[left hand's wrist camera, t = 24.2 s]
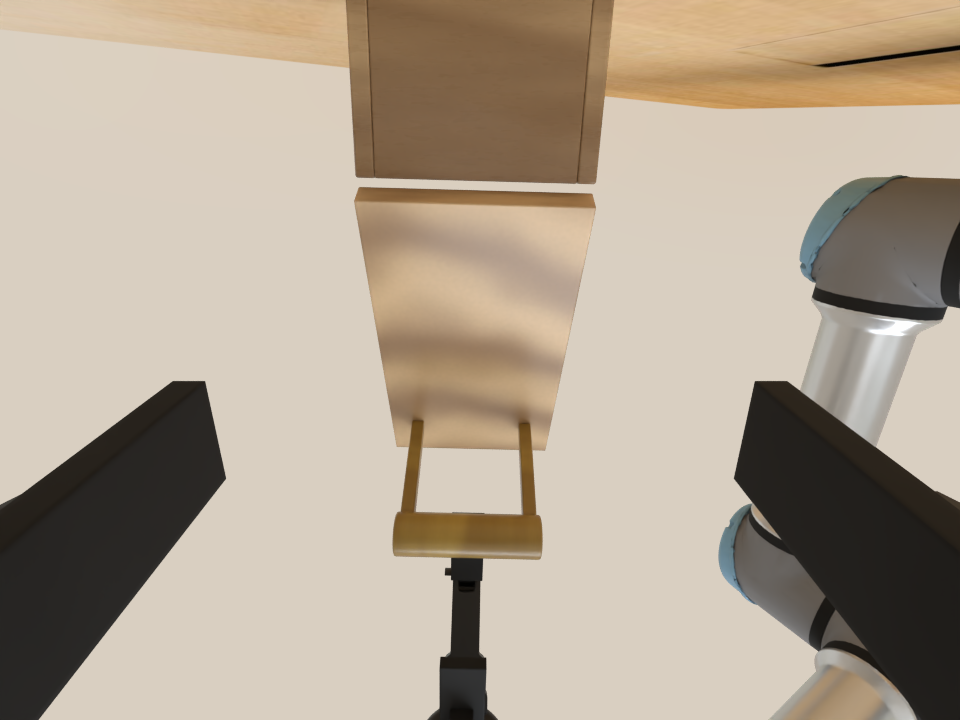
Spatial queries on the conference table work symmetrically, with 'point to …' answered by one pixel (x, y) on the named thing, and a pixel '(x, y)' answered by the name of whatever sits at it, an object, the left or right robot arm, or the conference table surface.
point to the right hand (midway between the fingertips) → (466, 575)
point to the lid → (472, 339)
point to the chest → (478, 88)
